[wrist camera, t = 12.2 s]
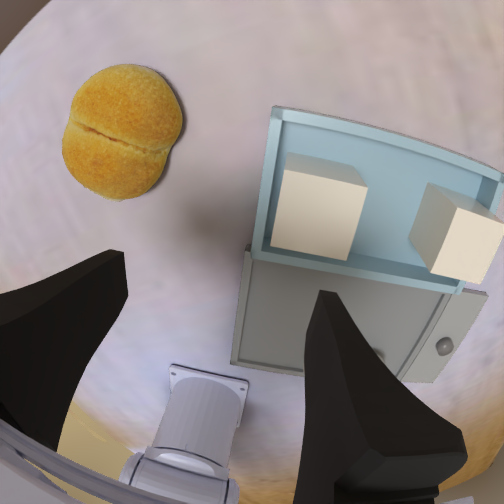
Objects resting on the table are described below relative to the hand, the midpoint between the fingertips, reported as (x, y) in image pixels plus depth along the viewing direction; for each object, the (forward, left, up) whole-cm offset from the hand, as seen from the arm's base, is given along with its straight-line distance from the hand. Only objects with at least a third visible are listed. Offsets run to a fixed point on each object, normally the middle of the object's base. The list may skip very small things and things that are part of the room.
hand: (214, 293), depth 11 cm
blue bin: (+1, -8, -10) cm, 13 cm away
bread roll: (+3, +9, -11) cm, 15 cm away
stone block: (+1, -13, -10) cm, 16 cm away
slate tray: (-9, -10, -10) cm, 17 cm away
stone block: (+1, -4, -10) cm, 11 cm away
